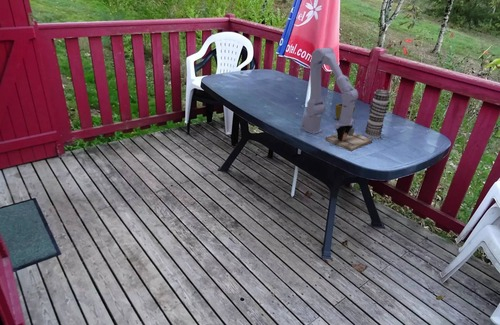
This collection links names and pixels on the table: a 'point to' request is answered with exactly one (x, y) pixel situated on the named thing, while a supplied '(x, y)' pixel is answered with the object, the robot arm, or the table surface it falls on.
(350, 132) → the fader
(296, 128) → the table surface
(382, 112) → the banded round tower
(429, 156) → the table surface
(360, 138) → the console
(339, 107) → the flower pot
